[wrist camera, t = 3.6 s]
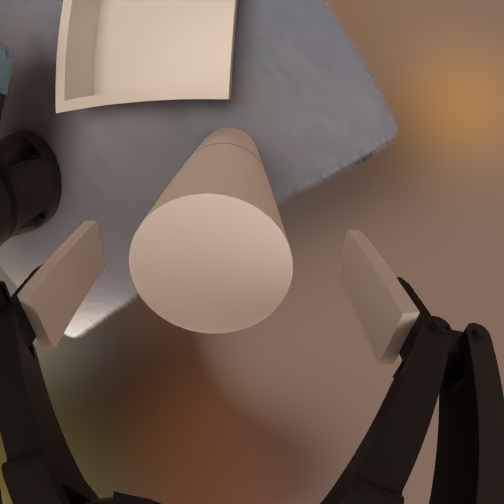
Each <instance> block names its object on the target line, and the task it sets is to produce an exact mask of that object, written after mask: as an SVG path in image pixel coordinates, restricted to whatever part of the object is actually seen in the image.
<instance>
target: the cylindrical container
mask: <svg viewBox="0 0 504 504" xmlns="http://www.w3.org/2000/svg"><path fill="white" fill-rule="evenodd" d="M129 267H130V274H131V277H132V280H133V283H134V286H135V288H136V289H137V291H138V293H139V295H140V296H141V298H142V299H143V300H144V301H145V302H146V304H147V305H148V306H149V307H150V308H151V309H152V310H153V311H154V312H156V313H157V314H158V315H159V316H161V317H162V318H163V319H165V320H167V321H169V322H170V323H172V324H174V325H176V326H179V327H182V328H184V329H187V330H192V331H196V332H200V333H211V334H216V333H228V332H233V331H238V330H242V329H245V328H247V327H250V326H252V325H255V324H256V323H258V322H260V321H261V320H263V319H265V318H266V317H268V316H269V315H270V314H271V313H272V312H273V311H274V310H275V309H276V308H277V307H278V306H279V305H280V303H281V302H282V301H283V299H284V298H285V296H286V294H287V292H288V289H289V287H290V284H291V280H292V275H293V259H292V255H291V251H290V247H289V243H288V240H287V237H286V234H285V231H284V227H283V224H282V221H281V218H280V215H279V212H278V209H277V206H276V203H275V200H274V197H273V194H272V191H271V188H270V185H269V182H268V179H267V176H266V173H265V170H264V167H263V164H262V161H261V158H260V155H259V152H258V149H257V147H256V144H255V142H254V140H253V139H252V138H251V137H250V136H249V135H248V134H247V133H246V132H244V131H242V130H240V129H237V128H232V127H225V128H220V129H217V130H215V131H213V132H211V133H210V134H209V135H208V136H206V138H205V139H204V140H203V141H202V142H201V144H200V145H199V146H198V147H197V149H196V150H195V151H194V152H193V154H192V155H191V156H190V158H189V159H188V160H187V161H186V163H185V164H184V165H183V166H182V168H181V169H180V170H179V172H178V173H177V174H176V176H175V177H174V178H173V180H172V181H171V182H170V184H169V185H168V186H167V188H166V189H165V190H164V192H163V193H162V195H161V196H160V197H159V199H158V200H157V201H156V203H155V204H154V206H153V207H152V209H151V210H150V211H149V213H148V214H147V216H146V217H145V219H144V220H143V222H142V223H141V225H140V226H139V228H138V230H137V231H136V233H135V234H134V237H133V240H132V243H131V246H130V253H129Z"/></svg>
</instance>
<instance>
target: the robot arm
mask: <svg viewBox="0 0 504 504" xmlns="http://www.w3.org/2000/svg"><path fill="white" fill-rule="evenodd" d="M13 64H14V53H13V51H12V49H11V48H10V47H9V46H7V45H4V44H0V120H1V115H2V110H3V106H4V101H5V97H6V95H7V94H8V92H9V90H8V84H9V80H10V76H11V72H12V68H13ZM60 193H61V178H60V171H59V167H58V164H57V161H56V158H55V156H54V154H53V152H52V150H51V149H50V147H49V146H48V144H47V143H46V142H45V141H44V140H43V139H42V138H41V137H39V136H38V135H36V134H34V133H32V132H28V131H20V132H16V133H13V134H10V135H7V136H5V137H3V138H2V139H1V140H0V246H1V245H2V244H3V243H4V242H5V241H6V240H7V239H9V238H10V237H12V236H15V235H19V234H22V233H26V232H30V231H33V230H35V229H37V228H39V227H40V226H42V225H43V224H44V223H45V222H46V221H48V220H49V219H50V218H51V216H52V215H53V214H54V212H55V210H56V208H57V206H58V203H59V199H60ZM104 266H105V261H104V256H103V251H102V246H101V241H100V235H99V229H98V223H97V221H84V222H83V223H82V224H81V225H80V226H79V227H78V228H77V229H76V230H75V231H74V232H73V233H72V234H71V235H70V236H69V237H68V238H67V239H66V240H65V241H64V242H63V243H62V244H61V245H60V247H59V248H58V249H57V250H56V251H55V252H54V253H53V254H52V255H51V256H50V257H49V258H48V259H47V260H46V262H45V263H44V264H42V265H41V266H39V267H38V268H36V269H35V270H34V271H33V272H32V273H31V274H30V275H29V277H28V278H27V279H26V280H25V281H24V283H22V284H21V286H20V287H19V288H18V289H17V291H16V292H15V293H14V294H13V295H12V297H11V296H10V294H9V292H8V289H7V287H6V284H5V283H4V282H3V281H0V432H1V437H2V441H3V444H4V448H5V452H6V456H7V462H5V463H3V464H2V472H3V477H4V480H5V483H6V486H7V489H8V492H9V494H10V497H11V500H12V502H13V504H161V503H158V502H156V501H153V500H151V499H146V498H141V497H136V496H132V495H127V494H123V493H119V492H114V494H113V497H109V498H101V499H99V498H98V496H97V495H96V494H95V492H94V491H93V490H92V488H91V487H90V486H89V485H88V484H87V482H86V481H85V479H84V478H83V476H82V474H81V472H80V470H79V468H78V466H77V465H76V462H75V460H74V458H73V456H72V454H71V451H70V449H69V447H68V445H67V443H66V440H65V438H64V435H63V433H62V430H61V428H60V425H59V423H58V420H57V418H56V415H55V412H54V410H53V407H52V404H51V401H50V398H49V395H48V392H47V389H46V385H45V382H44V379H43V375H42V372H41V368H40V365H39V361H38V357H37V353H36V349H35V347H34V345H33V341H34V339H35V338H36V337H37V339H38V341H39V343H40V345H41V347H45V348H49V349H53V350H55V348H56V346H57V344H58V342H59V341H60V339H61V337H62V335H63V333H64V332H65V330H66V328H67V326H68V325H69V323H70V321H71V319H72V318H73V316H74V314H75V313H76V311H77V309H78V307H79V306H80V304H81V303H82V301H83V299H84V298H85V296H86V294H87V293H88V291H89V290H90V288H91V286H92V285H93V283H94V282H95V280H96V279H97V277H98V276H99V274H100V272H101V271H102V269H103V268H104ZM338 276H339V279H340V281H341V283H342V285H343V287H344V289H345V291H346V293H347V296H348V298H349V300H350V302H351V304H352V307H353V309H354V311H355V313H356V315H357V318H358V320H359V322H360V324H361V327H362V329H363V331H364V334H365V336H366V338H367V341H368V343H369V345H370V348H371V350H372V353H373V355H374V357H375V360H376V362H377V365H384V364H392V363H394V362H395V360H396V358H397V356H398V354H400V356H401V358H402V360H403V361H402V362H401V364H400V366H399V367H398V369H397V371H396V372H395V374H394V376H393V378H394V380H393V382H392V384H391V386H390V388H389V390H388V393H387V395H386V397H385V399H384V401H383V403H382V405H381V407H380V409H379V411H378V413H377V415H376V417H375V419H374V420H373V422H372V424H371V426H370V428H369V430H368V432H367V433H366V435H365V437H364V439H363V441H362V442H361V444H360V446H359V447H358V449H357V451H356V452H355V454H354V456H353V457H352V459H351V461H350V462H349V464H348V465H347V467H346V469H345V470H344V471H343V473H342V474H341V476H340V478H339V479H338V481H337V482H336V483H335V485H334V486H333V488H332V489H331V491H330V492H329V493H328V495H327V496H326V498H325V499H324V500H323V501H322V502H321V503H320V504H404V497H403V496H402V491H403V488H404V486H405V484H406V482H407V480H408V478H409V476H410V473H411V471H412V469H413V466H414V464H415V462H416V459H417V457H418V454H419V452H420V449H421V446H422V443H423V441H424V439H425V436H426V433H427V430H428V427H429V424H430V421H431V418H432V415H433V412H434V408H435V405H436V402H437V398H438V395H439V425H438V442H437V452H436V462H435V470H434V478H433V484H432V490H431V497H430V502H429V504H504V397H503V390H502V385H501V379H500V374H499V369H498V365H497V360H496V356H495V352H494V348H493V344H492V340H491V336H490V334H489V332H488V331H487V330H486V329H485V328H484V327H483V326H482V325H479V324H476V323H470V324H468V326H467V327H466V329H465V330H464V332H461V331H455V330H452V329H451V327H450V325H449V324H448V323H447V322H446V321H445V320H443V319H442V318H440V317H436V316H431V315H430V313H429V311H428V310H427V309H426V307H425V306H424V304H423V303H422V301H421V300H420V299H419V298H418V296H417V294H416V293H415V292H414V290H413V289H412V287H411V286H410V285H409V283H407V282H406V281H405V280H403V279H402V278H400V277H398V278H396V277H395V275H394V274H393V273H392V271H391V270H390V268H389V267H388V266H387V264H386V263H385V262H384V260H383V259H382V258H381V256H380V255H379V253H378V252H377V251H376V249H375V248H374V247H373V246H372V244H371V243H370V242H369V240H368V239H367V238H366V236H365V235H364V234H363V233H362V231H361V230H347V235H346V239H345V244H344V248H343V253H342V257H341V261H340V266H339V270H338ZM0 504H2V498H1V491H0Z"/></svg>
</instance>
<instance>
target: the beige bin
mask: <svg viewBox="0 0 504 504" xmlns="http://www.w3.org/2000/svg"><path fill="white" fill-rule="evenodd" d="M237 5H238V0H64V1H63V7H62V13H61V20H60V28H59V37H58V47H57V61H56V113H61V112H66V111H72V110H77V109H83V108H90V107H97V106H104V105H112V104H121V103H131V102H142V101H156V100H177V99H231V89H232V73H233V58H234V43H235V30H236V17H237Z"/></svg>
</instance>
